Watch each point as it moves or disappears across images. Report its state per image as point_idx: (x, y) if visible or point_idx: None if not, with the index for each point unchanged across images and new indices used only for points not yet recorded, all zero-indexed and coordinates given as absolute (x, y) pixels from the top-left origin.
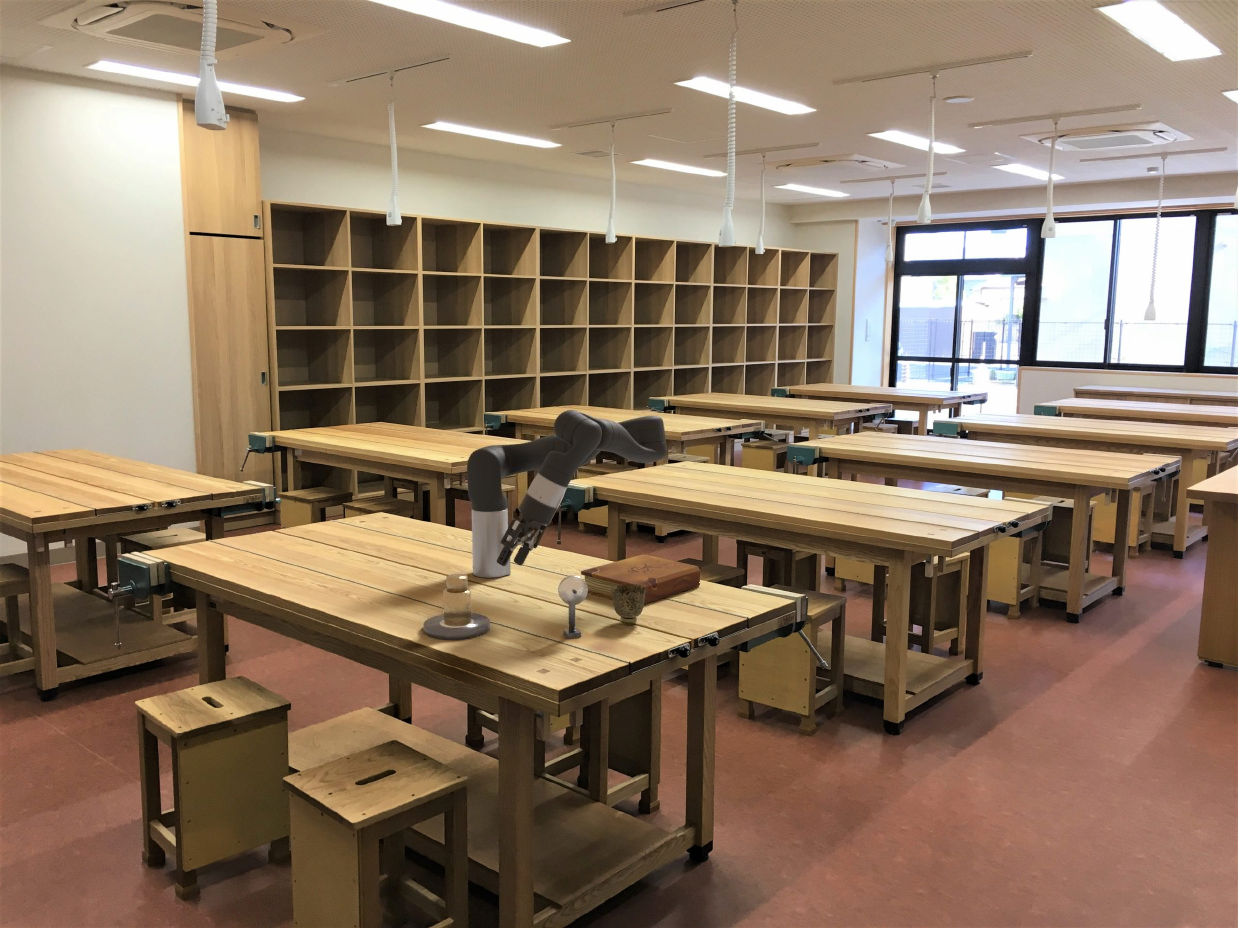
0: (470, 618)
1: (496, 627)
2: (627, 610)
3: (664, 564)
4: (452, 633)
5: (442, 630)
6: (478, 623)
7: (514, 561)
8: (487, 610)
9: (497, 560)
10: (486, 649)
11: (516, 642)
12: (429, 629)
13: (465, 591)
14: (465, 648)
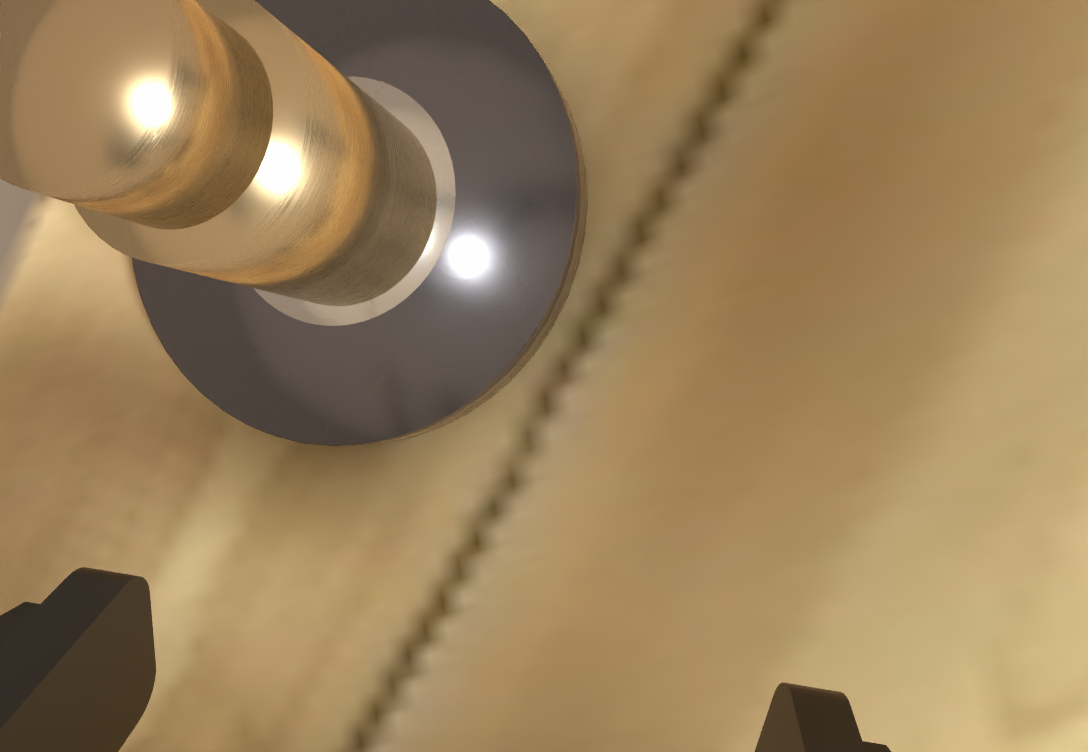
0: (317, 302)
1: (439, 476)
2: None
3: None
4: (136, 262)
5: None
6: (336, 367)
7: (775, 697)
8: (843, 269)
9: (71, 586)
10: (53, 533)
11: (184, 691)
12: None
13: (144, 226)
14: (51, 403)
